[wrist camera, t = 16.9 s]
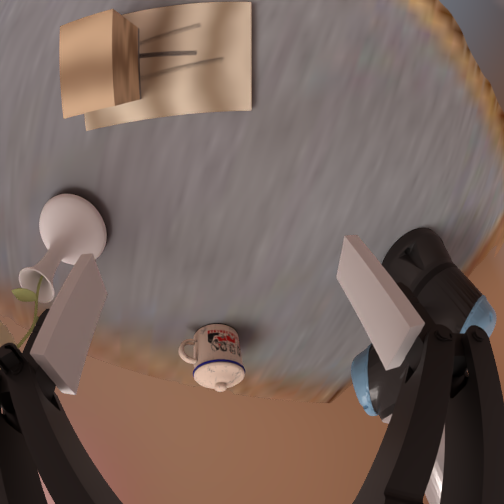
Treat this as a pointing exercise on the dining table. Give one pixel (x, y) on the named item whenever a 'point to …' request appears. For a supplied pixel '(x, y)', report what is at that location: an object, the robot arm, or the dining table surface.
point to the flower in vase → (59, 249)
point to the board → (188, 63)
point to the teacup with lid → (215, 357)
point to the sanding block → (99, 63)
